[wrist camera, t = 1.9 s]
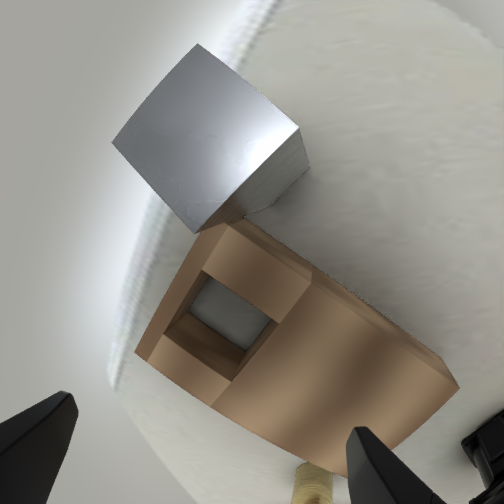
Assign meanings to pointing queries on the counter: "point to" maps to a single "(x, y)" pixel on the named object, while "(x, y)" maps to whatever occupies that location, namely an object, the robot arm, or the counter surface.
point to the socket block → (293, 352)
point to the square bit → (212, 143)
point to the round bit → (312, 485)
